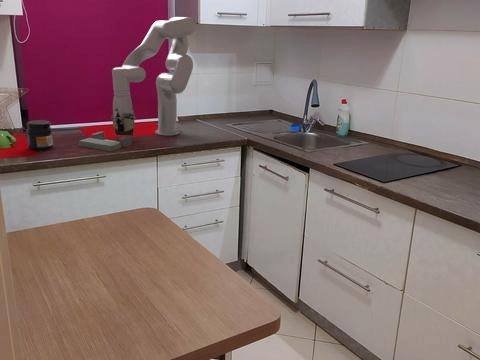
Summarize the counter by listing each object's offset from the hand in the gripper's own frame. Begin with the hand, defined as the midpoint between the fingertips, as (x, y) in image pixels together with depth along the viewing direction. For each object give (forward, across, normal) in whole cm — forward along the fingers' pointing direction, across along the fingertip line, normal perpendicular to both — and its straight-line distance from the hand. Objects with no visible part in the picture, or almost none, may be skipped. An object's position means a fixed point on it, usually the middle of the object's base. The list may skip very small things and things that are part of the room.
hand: (125, 129), depth 235 cm
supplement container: (+3, +34, -21) cm, 40 cm away
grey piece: (+4, +15, -1) cm, 16 cm away
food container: (+3, -1, 0) cm, 3 cm away
